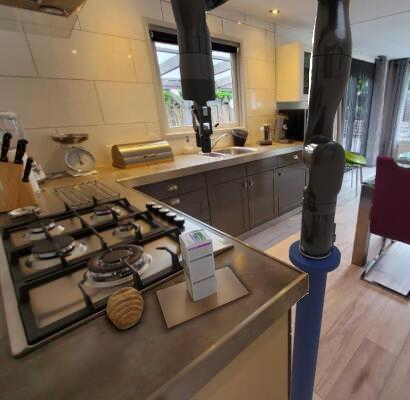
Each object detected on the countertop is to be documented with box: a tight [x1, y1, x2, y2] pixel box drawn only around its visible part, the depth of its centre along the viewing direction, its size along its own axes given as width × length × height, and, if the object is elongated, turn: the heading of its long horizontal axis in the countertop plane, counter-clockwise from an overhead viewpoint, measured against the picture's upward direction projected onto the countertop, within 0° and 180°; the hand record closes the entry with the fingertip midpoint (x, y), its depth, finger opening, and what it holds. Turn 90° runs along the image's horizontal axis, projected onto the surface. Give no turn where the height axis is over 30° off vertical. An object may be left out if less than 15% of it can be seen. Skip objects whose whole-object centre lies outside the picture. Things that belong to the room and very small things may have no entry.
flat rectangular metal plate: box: [155, 265, 250, 330], centre depth 58 cm, size 18×12×1 cm, turn 123°
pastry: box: [105, 286, 145, 331], centre depth 51 cm, size 9×7×4 cm
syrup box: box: [178, 228, 217, 302], centre depth 56 cm, size 6×6×14 cm
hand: (203, 149), depth 63 cm, fingers open, 8 cm apart
